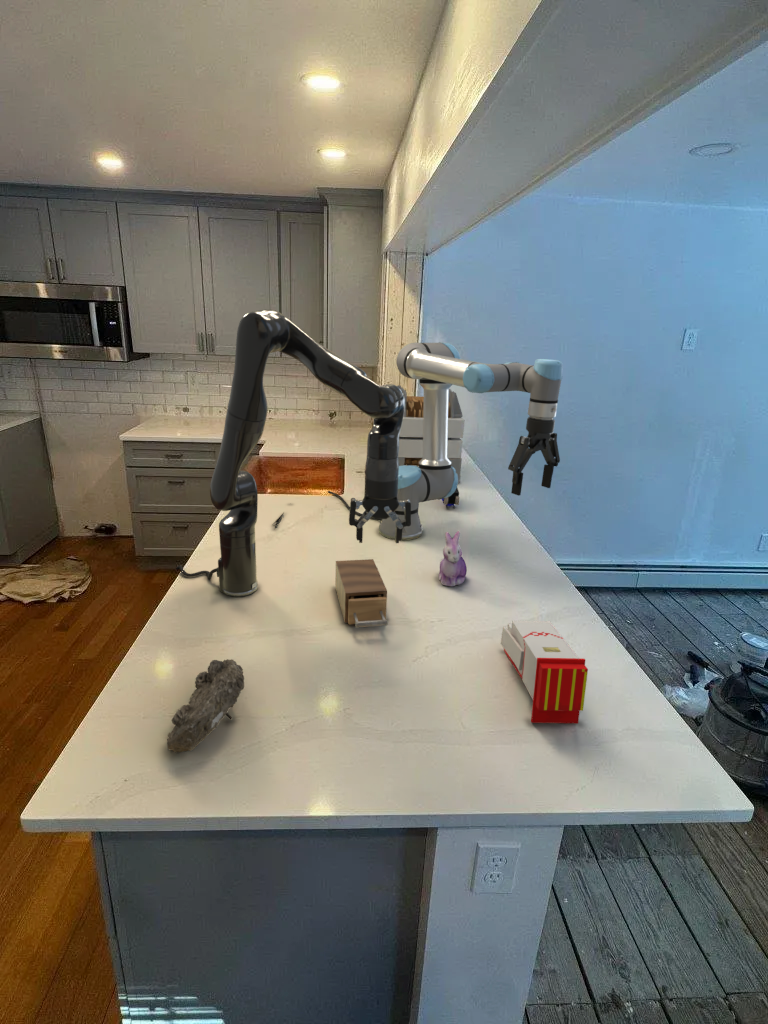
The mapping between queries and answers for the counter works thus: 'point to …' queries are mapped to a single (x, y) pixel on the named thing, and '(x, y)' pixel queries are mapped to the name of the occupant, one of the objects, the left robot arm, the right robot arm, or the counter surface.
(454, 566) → the figurine
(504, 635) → the toy
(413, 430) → the white slatted crate
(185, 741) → the fossil
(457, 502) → the figurine character
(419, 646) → the counter surface
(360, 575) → the cabinet
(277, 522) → the feather
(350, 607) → the drawer
